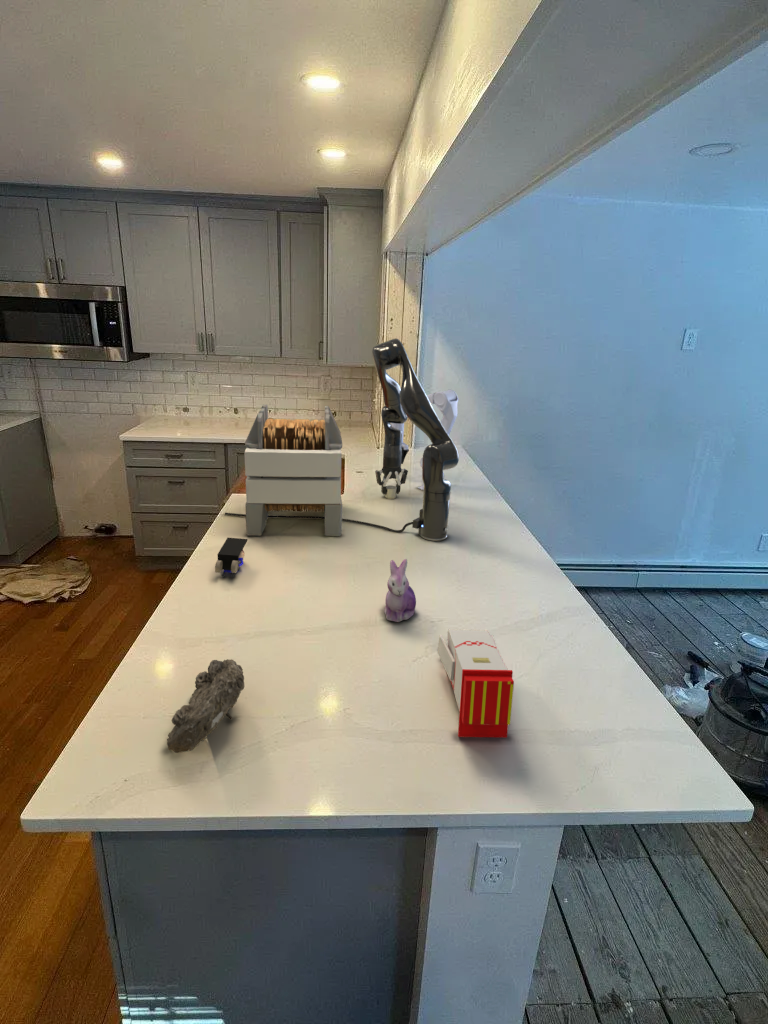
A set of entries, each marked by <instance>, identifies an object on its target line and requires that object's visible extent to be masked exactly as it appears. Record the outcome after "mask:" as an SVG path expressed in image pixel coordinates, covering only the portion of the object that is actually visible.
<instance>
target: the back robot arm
mask: <svg viewBox="0 0 768 1024" xmlns="http://www.w3.org/2000/svg"><path fill="white" fill-rule="evenodd" d="M426 395H427V397H428V399H429V401H430V403H431V405H435V406H436V407H437V408H438V410H439V411H440V412H441V414H442V418H441V420H440V422H441V424H442V426H443V428H444V429H445V431H446V432H447V434H448V435H449V436H450V434H451V433H452V429H453V427H454V425H455V423H456V420H457V418H458V414H459V413H458V411H459V410H458V403H459V400H460V399H459V396H458V394H457V392H456V391H455V390H453V389H452V388H451V389H447V390H438V391H435V392H432V393H429V394H426ZM390 424H391V426H392V427H394V428H396V429H399V430H401V431H402V457H401V465H403V464H404V463H405V459H406V456H407V454H408V453H409V451H410V449H409V446H410V445H409V444H407V443H405V442H404V432H405V431H404V430H405V423H403V424H395V423H390ZM422 461H423V457H421V458H420V461H419V465H420V468H421V469H422ZM443 479H445V472H444V471H443ZM416 488H417V489H419V490H421V491H424V483H423V479H422V478H421V485H420V486H419V485H418V486H417V487H416Z"/></svg>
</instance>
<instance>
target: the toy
mask: <svg viewBox="0 0 768 1024" xmlns="http://www.w3.org/2000/svg"><path fill="white" fill-rule="evenodd" d="M446 640H447V643H446V641H445V639H444V636H443V635H442V634H439V637H438V646H437V656H438V657H439V659H440V661H441V663H442V666H443V668H444V670H445V672H446V674H447V677H448V679H449V681H450V684H451V687H452V690H453V693H454V697H455V701H456V705H457V708H458V711H459V714H458V715H459V716H458V730H457V731H458V732H457V737H458V738H508V731H509V726H510V725H511V717H512V707H513V697H514V696H513V695H514V684H515V680H514V679H513V673H514V671H513V670H512V669H508V667H507V665H506V662H505V661H504V659H503V658H502V655H501V653H500V651H499V649H498V647H497V643H496V639H495V637H494V635H493V634H491V632H490V631H489V629H467V628H466V629H465V628H463V629H461V628H460V629H459V628H448V630H447V639H446Z"/></svg>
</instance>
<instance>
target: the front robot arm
mask: <svg viewBox="0 0 768 1024" xmlns="http://www.w3.org/2000/svg"><path fill="white" fill-rule="evenodd" d="M371 352H372V360H373V364H374V367H375V370H376V374H377V377H378V380H379V383H380V386H381V390H382V398H383V404H384V405H383V407H382V409H381V412H380V416H381V421H382V424H383V431H384V444H383V452H382V453H383V455H382V468H381V469H379V470H378V469H375V471H374V472H375V473H374V474H375V478H376V483H377V484H378V485H379V486H381V487H380V488H381V490H380V492H381V494H382V495H383V496H385V495H386V486H387V483H388V482H389V481H390V480H392V479H393V480H395V486H396V487H397V489H396V495H399V494H400V493H401V486H402V485H405V484H406V481H407V478H408V474H409V471H408V469H406V468H402V464H401V457H402V431H401V430H399V429H396V428H394V427H392V426H391V423H395V424H403V423H404V424H405V423H406V422H407V421H408V420H409V421H410V422H411V423H412V424H413V425H414V426H415V427H417V428H418V429H419V430H420V431H422V432H423V433H424V434H425V435H426V436H427V438H428V439H429V441H430V442H431V444H429V445H427V446H426V447H425V448H424V450H423V453H422V458H423V461H422V468H421V480H422V479H423V483H424V490H423V493H422V496H423V497H422V506H421V508H420V509H419V516H418V517H416V518H414V519H413V520H412V521H409V522H407V523H406V524H404V525H403V527H402V528H401V529H393V528H391V527H387V526H384V525H379V524H376V523H370V522H366V521H361V520H356V519H348V518H342V522H348V523H353V524H360V525H366V526H370V527H374V528H379V529H382V530H386V531H389V532H393V533H403V532H404V531H405V530H406V528H407V527H408V526H412V528H413V529H416V530H417V535H418V536H420V538H421V539H424V540H426V541H432V542H440V541H444V540H446V539H447V538H448V529H449V527H450V526H449V517H450V516H449V514H450V504H451V494H452V493H451V491H452V483H451V481H450V480H448V479H445V478H444V479H443V472H444V471H446V470H447V471H448V470H450V469H454V468H455V467H456V466H458V464H459V460H460V454H459V451H458V448H457V446H456V445H455V443H454V442H453V440H452V438H451V437H450V434H449V435H448V434H447V432H446V431H445V429H444V428H443V426H442V424H441V420H440V419H439V416H438V415H437V412H436V411H435V410H434V407H433V404H432V403H430V401H429V399H428V397H427V395H428V394H427V392H426V391H425V390H424V387H423V386H422V384H421V382H420V380H419V379H418V377H417V374H416V372H415V370H414V368H413V365H412V363H411V361H410V358H409V356H408V353H407V351H406V349H405V347H404V345H403V343H402V341H400V339H399V338H392V339H389V340H386V341H383V342H381V343H378V344H376V345H374V346H373V347H372V351H371ZM398 366H399V367H400V369H401V372H402V381H401V385H400V384H399V383H398V381H397V380H395V379H394V378H393V377H391V375H389V374H388V372H387V370H390V369H391V370H392V369H393V368H396V367H398ZM382 474H383V477H381V476H382ZM400 474H401V477H400ZM224 515H225V516H231V517H233V516H234V517H242V518H243V517H245V518H246V513H245V514H244V513H234V512H224ZM268 519H314V520H315V519H316V520H324V516H317V515H282V514H281V515H279V514H278V515H277V514H274V515H273V514H272V515H271V514H268Z"/></svg>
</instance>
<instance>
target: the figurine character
mask: <svg viewBox="0 0 768 1024" xmlns="http://www.w3.org/2000/svg"><path fill="white" fill-rule="evenodd" d="M247 542H248V538H240V537H226V539H225V541H224V543H223V544H222V546H221V547H220V549H219V551H218V552H217V560H216V562H215V564H214V572H215V573H221V577H222V578H224V577H225V576H226V574H227V573H230V574H231V573H232V574H231V578H234V577H235V575H236V573H237V572H239V571H240V567H242V566H243V565H244V564H245V562H244V558H245V551H244V547H245V546H246V544H247Z"/></svg>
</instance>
